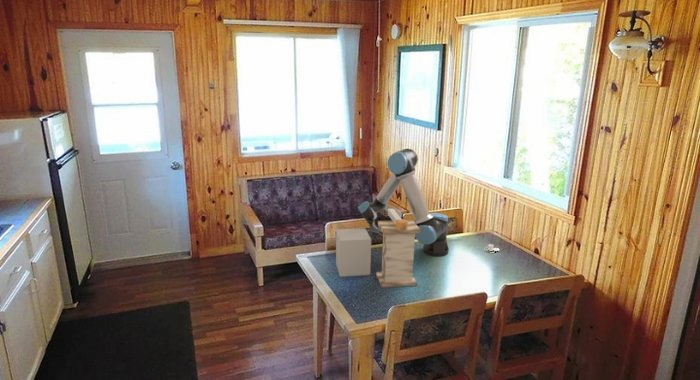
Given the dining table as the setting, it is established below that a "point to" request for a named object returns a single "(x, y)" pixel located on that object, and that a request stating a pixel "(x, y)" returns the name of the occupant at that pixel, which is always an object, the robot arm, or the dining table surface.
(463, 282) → the dining table surface
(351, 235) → the tall block
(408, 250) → the parchment scroll
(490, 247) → the teacup and saucer
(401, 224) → the plug bar
